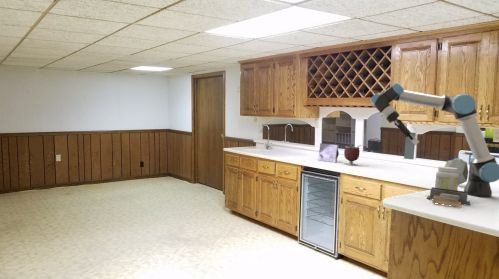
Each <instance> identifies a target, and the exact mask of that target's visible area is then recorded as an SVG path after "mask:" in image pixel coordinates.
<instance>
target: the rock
mask: <svg viewBox="0 0 499 279" xmlns="http://www.w3.org/2000/svg"><path fill="white" fill-rule="evenodd" d="M444 167H452V168H457V169H458V172H457V173H458V175H459V178H458V186H459V185H462V184H464V183H467V182H468V177H469V168H468V163H467V161H465V160H464V159H462V158H459V157H456V158H454V159H452V160H447V161H446V162H445V165H444Z"/></svg>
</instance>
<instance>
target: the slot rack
mask: <svg viewBox="0 0 499 279" xmlns="http://www.w3.org/2000/svg"><path fill="white" fill-rule="evenodd" d="M442 193H445V194H451V195H457V196H459V199H458V202H461V205H464V204H466V205H465V206H470V205H471V204H470V203H471V202H470V200H468V192H465V191H464V190H463V191H462V190H458V189H457V190H450V189H442V188H435V186H433V187H431V188H430V191H429V194H428V195H427V197H426V200H430V199H433V198H434V195H435V196H440V194H442Z"/></svg>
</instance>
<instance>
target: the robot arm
mask: <svg viewBox="0 0 499 279" xmlns="http://www.w3.org/2000/svg"><path fill="white" fill-rule="evenodd" d="M369 101H370V103H371V104H372V105H373V106H374V107H375V109H377V111H378V112H379V113H380V114H381V116H382V117H384V118H385V119H386V121H387V122H388V123H389V124H391V123H394V125H395V126H396V127H397V128H398V129H399V130H400V132H402V133H403V134H404V136H405V138H406V137H407V136H408V138H409V139H410V140H411V142H412V143H413V144H414V145H415V146H417V145H418V144H420V141H419V140H418V139H417V138H414V137H413V135H412V134H410V133H409V132H411V130H409V129H408V128H407V126H406V125H405V124H404V122H403V121H402V120H401V119H399V117H400V114H399V113H398V112H397V110H396V109H395V108H394V107H393V105H391V104H390V103H391V102H393V101H396V102H402V103H408V104H412V105H418V106H424V107H430V108H436V109H439V111H443V112H446V113H450V114H453V116H454V118H455V120H456V121H458V122H459V124H460V125H461V129H462V131H463V133H464V137H465V139H466V141H467V144H468V147H469V149H470V151H471V154H472V157H471V158H470V159H469V163H468V164H469V168H468V178H467V182H466V185H465V186H464V189H463V191H465V192H468V194H467V196H468V195H469V196H473V197H475V196H476V197H481V198H483V197H484V198H492V197H493V191H492V188H491V185H490V184H491V183H494V182H497V181H498V180H499V164H498V162H497V160H496V157H495V156H494V155H492V154H491V153H490V150H489V147H488V145H487V142H486V140H485V138H484V135H483V133H482V130H481V127H480V125H479V123H478V120H477V117H476V115H477V113H478V112H477V108H476V106H477V103H476V100H475V98H474V97H473V96H472V95H470V94H466V93H461V94H457V95H440V96H439V95H434V94H429V93H428V94H427V93H423V92H418V91H412V90H405V89H404V87H403V86H402V85H401V83H399V82H395V83H393V84H391V86H390V87H388V88H387V89H385V91H383V92H382V93H380V92H377V93H375V94H374V95H373V96H372V97H370V100H369Z"/></svg>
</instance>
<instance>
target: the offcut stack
mask: <svg viewBox="0 0 499 279" xmlns="http://www.w3.org/2000/svg"><path fill="white" fill-rule="evenodd" d="M458 199H459V196H457V195H451V194H445V193H442V194H440V196H435V195H434V198H433V200H432V203H438V204H444V205H443V206H445V205H451V206H456V207H455V208H458V207H460V206H462V204H461V202H458ZM438 204H437V205H438ZM451 206H450V207H451ZM460 208H461V207H460Z"/></svg>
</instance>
